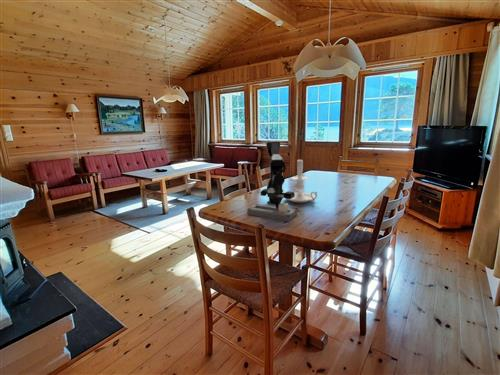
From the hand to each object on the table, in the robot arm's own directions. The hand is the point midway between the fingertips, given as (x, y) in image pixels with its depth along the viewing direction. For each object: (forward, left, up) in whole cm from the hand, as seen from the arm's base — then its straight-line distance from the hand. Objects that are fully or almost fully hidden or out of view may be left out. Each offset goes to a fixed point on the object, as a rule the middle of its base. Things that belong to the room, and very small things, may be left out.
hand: (277, 208), depth 152 cm
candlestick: (-32, +3, -4) cm, 32 cm away
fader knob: (0, +4, -2) cm, 4 cm away
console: (0, -3, -4) cm, 5 cm away
